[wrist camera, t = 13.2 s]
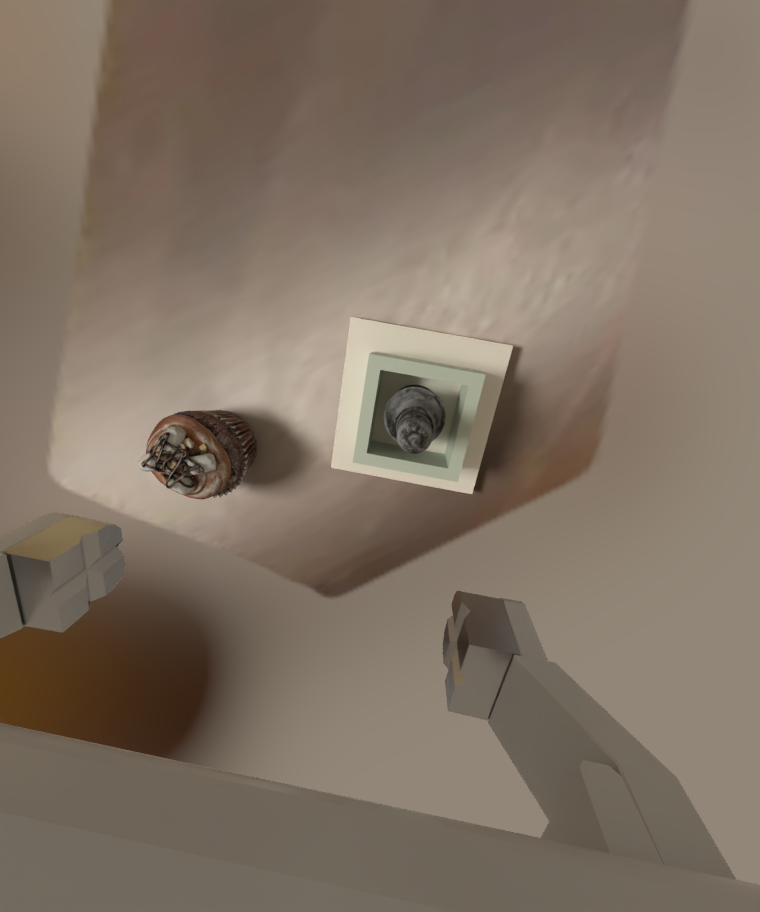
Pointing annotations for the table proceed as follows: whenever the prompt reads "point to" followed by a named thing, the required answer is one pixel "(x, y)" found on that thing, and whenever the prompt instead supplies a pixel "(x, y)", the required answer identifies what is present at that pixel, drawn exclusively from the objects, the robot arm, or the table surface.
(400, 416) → the dark chess piece
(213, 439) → the cupcake
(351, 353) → the stand
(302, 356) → the table surface
